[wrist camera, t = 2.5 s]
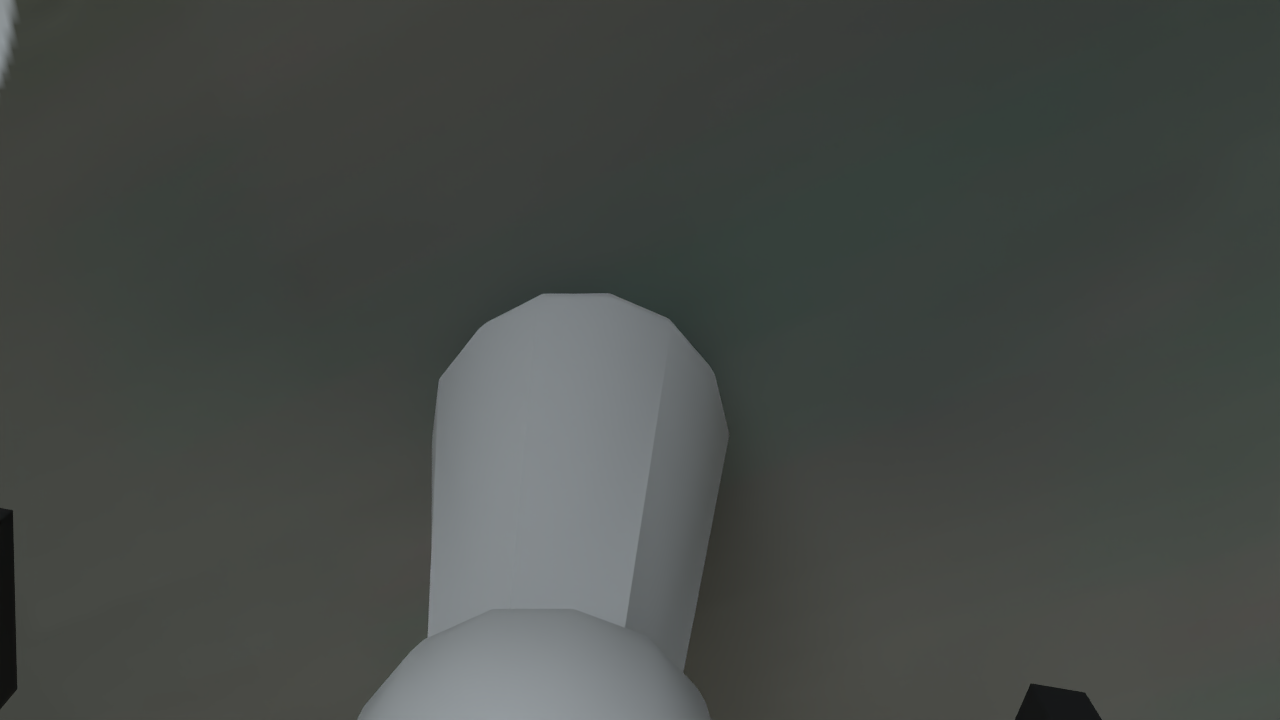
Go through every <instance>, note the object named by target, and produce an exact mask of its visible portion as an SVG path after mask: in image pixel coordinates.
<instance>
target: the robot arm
mask: <svg viewBox="0 0 1280 720" xmlns="http://www.w3.org/2000/svg"><path fill="white" fill-rule="evenodd" d="M16 690H17V665H16V624H15V583H14V542H13V510H8V509H2V508H0V709H1V708H2V706H3V705H4V704H5V703H6V702H7V700H8V699H9V698H10V697H11V696H12V695H13V693H14V692H15V691H16ZM1015 720H1102V719H1101V718H1100V716H1099V714H1098V713H1097V711H1096V710H1095V708H1094V706H1093V705H1092V703H1091V702H1090V700H1089V698H1088V697H1087V695H1086V693H1084V692H1078V691H1072V690H1066V689H1060V688H1054V687H1048V686H1042V685H1037V684H1030V687H1029V689H1028V691H1027V693H1026V696H1025V698H1024V700H1023V703H1022V705H1021V707H1020V709H1019V712H1018V714H1017V716H1016V719H1015Z"/></svg>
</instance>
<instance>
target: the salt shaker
mask: <svg viewBox="0 0 1280 720" xmlns="http://www.w3.org/2000/svg"><path fill="white" fill-rule="evenodd" d="M728 439H729V431H728V427H727V423H726V418H725V414H724V410H723V406H722V402H721V398H720V394H719V390H718V386H717V381H716V377H715V374H714V372H713V371H712V369H711V367H710V365H709V364H708V363H707V362H706V361H705V360H704V359H703V357H702V356H701V355H700V354H699V353H698V352H697V350H696V349H695V348H694V347H693V346H692V345H691V343H690V342H689V341H688V340H687V339H686V338H685V337H684V335H683V334H682V333H681V332H680V331H679V330H678V328H677V327H676V326H675V325H674V324H673V323H672V321H671V320H670V319H668V318H666V317H664V316H661V315H659V314H657V313H654V312H652V311H650V310H647V309H645V308H643V307H640V306H638V305H636V304H633V303H631V302H629V301H626V300H624V299H622V298H619V297H617V296H615V295H612V294H610V293H588V294H541V295H539V296H537V297H535V298H533V299H531V300H529V301H527V302H526V303H524V304H522V305H520V306H518V307H516V308H514V309H512V310H510V311H508V312H506V313H504V314H502V315H500V316H498V317H496V318H494V319H492V320H490V321H488V322H487V323H485V324H484V325H483V326H482V327H481V328H479V329H478V330H477V332H476V333H475V334H474V336H473V337H472V338H471V339H470V341H469V342H468V343H467V344H466V346H465V347H464V348H463V350H462V351H461V352H460V353H459V355H458V356H457V357H456V358H455V360H454V361H453V362H452V364H451V365H450V366H449V367H448V369H447V370H446V371H445V372H444V374H443V375H442V376H441V378H440V379H439V384H438V393H437V401H436V410H435V418H434V427H433V435H432V552H431V575H430V597H429V620H428V638H426V639H424V640H423V641H422V642H421V643H420V644H418V645H417V646H416V647H415V648H414V649H413V650H412V651H411V652H410V653H409V654H408V655H407V656H406V657H405V659H404V660H403V661H402V662H401V663H400V665H399V666H398V667H397V668H396V669H395V670H394V672H393V673H392V674H391V675H390V676H389V677H388V679H387V680H386V681H385V682H384V683H383V684H382V686H381V687H380V688H379V689H378V690H377V691H376V693H375V694H374V695H373V696H372V697H371V698H370V700H369V701H368V702H367V703H366V704H365V705H364V707H363V709H362V711H361V713H360V715H359V717H358V719H357V720H711V719H710V715H709V712H708V708H707V705H706V702H705V700H704V699H703V697H702V695H701V694H700V692H699V690H698V689H697V687H696V686H695V685H694V684H693V683H692V682H691V681H690V679H689V678H688V677H687V676H686V675H685V674H684V673H683V671H684V666H685V661H686V656H687V651H688V646H689V640H690V635H691V630H692V625H693V620H694V615H695V609H696V604H697V599H698V594H699V589H700V584H701V579H702V573H703V568H704V563H705V558H706V553H707V548H708V542H709V537H710V532H711V527H712V522H713V517H714V511H715V506H716V501H717V496H718V491H719V486H720V480H721V475H722V470H723V465H724V460H725V455H726V449H727V444H728Z"/></svg>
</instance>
